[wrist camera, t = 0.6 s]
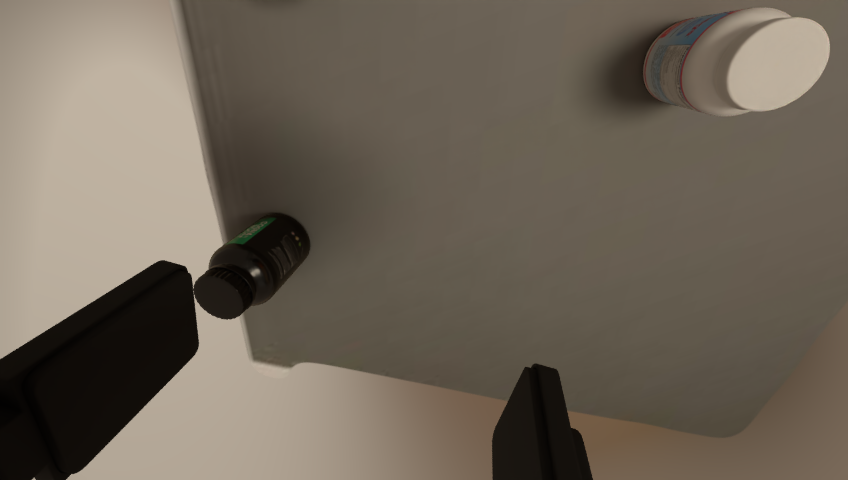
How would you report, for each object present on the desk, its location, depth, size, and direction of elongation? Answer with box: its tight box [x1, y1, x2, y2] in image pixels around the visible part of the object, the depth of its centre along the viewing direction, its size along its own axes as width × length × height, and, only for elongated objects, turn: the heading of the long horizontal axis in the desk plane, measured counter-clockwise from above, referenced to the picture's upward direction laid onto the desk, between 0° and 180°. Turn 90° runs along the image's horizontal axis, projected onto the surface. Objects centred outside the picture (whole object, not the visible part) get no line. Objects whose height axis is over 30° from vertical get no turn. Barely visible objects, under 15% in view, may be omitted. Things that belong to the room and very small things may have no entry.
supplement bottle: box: [193, 214, 310, 319], centre depth 38 cm, size 7×7×12 cm
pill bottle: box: [643, 7, 830, 116], centre depth 24 cm, size 6×6×11 cm
